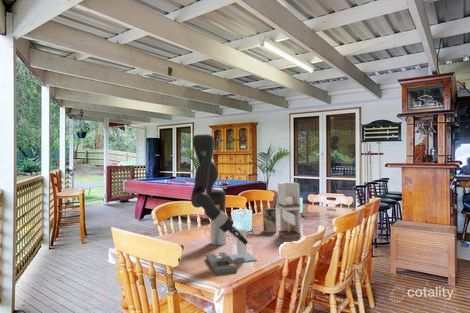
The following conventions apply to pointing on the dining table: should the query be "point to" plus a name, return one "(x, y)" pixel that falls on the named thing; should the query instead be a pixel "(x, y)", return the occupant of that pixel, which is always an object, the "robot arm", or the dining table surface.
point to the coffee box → (269, 219)
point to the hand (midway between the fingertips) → (245, 242)
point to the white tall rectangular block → (241, 243)
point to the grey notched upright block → (289, 209)
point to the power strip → (221, 263)
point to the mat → (242, 258)
